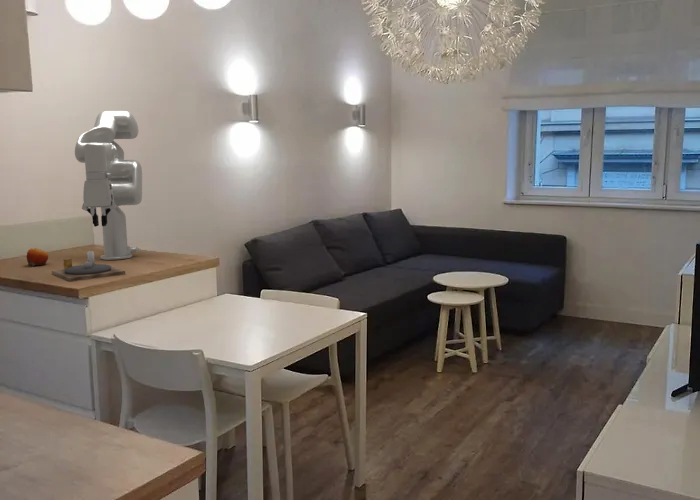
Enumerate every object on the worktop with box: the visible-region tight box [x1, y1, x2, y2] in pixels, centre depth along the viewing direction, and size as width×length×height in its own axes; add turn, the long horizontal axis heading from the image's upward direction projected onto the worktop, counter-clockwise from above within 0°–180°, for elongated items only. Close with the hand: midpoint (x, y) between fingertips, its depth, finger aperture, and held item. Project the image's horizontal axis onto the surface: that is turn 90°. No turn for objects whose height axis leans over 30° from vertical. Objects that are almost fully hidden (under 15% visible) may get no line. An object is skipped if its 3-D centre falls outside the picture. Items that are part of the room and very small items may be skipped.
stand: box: [51, 258, 127, 282], centre depth 252 cm, size 20×20×5 cm
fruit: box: [26, 247, 49, 268], centre depth 273 cm, size 8×8×8 cm
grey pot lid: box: [65, 251, 112, 275], centre depth 252 cm, size 16×16×6 cm
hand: (100, 225), depth 256 cm, fingers closed
